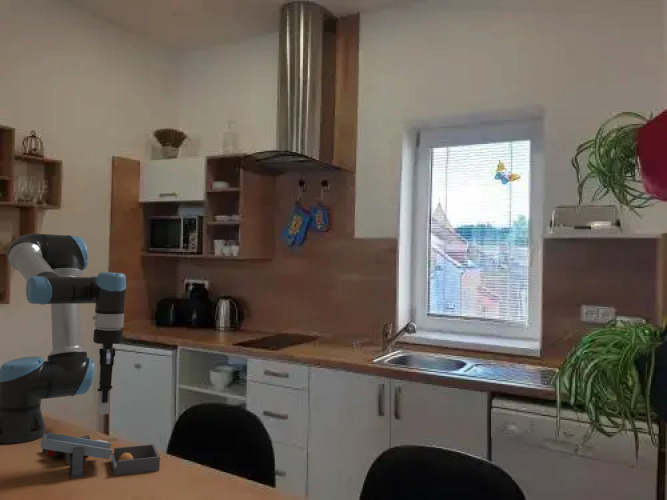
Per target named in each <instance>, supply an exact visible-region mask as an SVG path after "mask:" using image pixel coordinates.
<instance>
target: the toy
mask: <svg viewBox="0 0 667 500" xmlns="http://www.w3.org/2000/svg"><path fill="white" fill-rule="evenodd" d="M77 437H78V438H84V439H90V440H91V437H90V435H89V434H88V435H87V434H86V435H82V436H77ZM42 453H43V454H46V455H47V456H49V457H51V456H52V457H57V456H61V455H62V456H63V457H62V458H63V460H64V462H66V464H68V465H69V466H70V464H72V453H66V452H60V451H54V450H47V449H42ZM89 457H90V456H85V455H83V460H85V459H88V458H89Z"/></svg>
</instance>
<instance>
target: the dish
mask: <svg viewBox="0 0 667 500" xmlns="http://www.w3.org/2000/svg"><path fill="white" fill-rule="evenodd" d="M124 453H130V454H131V455H132V456H133V459H130V460H120V461H119V458H120V456H121V455H122V454H124ZM110 462H111V468H112V472H113V476H122V475H132V474H140V473H141V474H142V473H149V472H156V471H157V472H159V471H160V462H161V456H160V454H159V451H158V450H157V448H156V445H155V443H154V444H153V443H152V444H143V445H131V446H121V447H119V446H118V447H113V452H112V453H111V456H110Z"/></svg>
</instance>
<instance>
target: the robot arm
mask: <svg viewBox="0 0 667 500" xmlns="http://www.w3.org/2000/svg"><path fill="white" fill-rule="evenodd" d="M88 250H89V249H88V247H87V243H86V241H85V240H84V239H83V238H82V237H80V236H77V235H76V236H75V235H74V236H73V235H70V234H66V235H65V234H49V233H29V234H28V233H27V234H23V235H22V236H19V237H17V238H16V239H14V240H13V241H12V242H11V243H10V244H9V246H8V248H7V251H6V258H7V259H6V260H7V262H8V264H10V266H11V267H12V268H13V269H14V270H16V271H19V273H20V275H22V277H23V278H24V279H25V281H26V286H25V296H26V300H27V302H28V303H30V304H32V305H34V304H35V305H36V304H37V305H38V304H39V305H50V311H51V313H50V314H51V318H50V319H51V337H52V339H51V342H52V343H51V344H52V345H51V346H52V350H51V352H49V354H48V355H47V360H46V361H45V360H44V358H43V357H41V356H24V357H20V358H15V359H12V360H8V361H5V362H3V364H2V365H1V366H0V444H19V443H20V444H21V443H26V442H32V441H34V440H35V441H36V440H39V439H40V438H43V435H44V433H45V434H46V428H47V427H46V424H45V420H44V417H43V414H42V413H43V412H42V410H41V405H42V404H41V403H42V400H44V399H45V400H48V399H55V398H65V397H75V396H80V395H84V394H87V392H89V390H90V389H91V387H92V384H93V382H94V379H95V378H94V377H95V363H94V359H93V358H91V357H90V356H89V357H88V352H87V350H85V349H84V348H83V347H82V330H81V312H80V311H81V310H80V304H95V310H94V315H93V316H92V317H91V319H92V320H93V321H94V326H93V327H94V328H95V329H94V330H93V342H94V343H95V344H99V345H101V346H102V348H99V349H98V353H99V365H100V370H99V382H98V383H99V384H98V385H99V388H97V392H99V393H98V410H97V415H98V416H99V415H109V414H110V402H111V390H112V389H113V385H112V379H113V378H112V377H113V366H114V365H115V364H114V363H115V356H116V349H115V348H114V347H113V345H115V344H116V345H117V344H121V343H122V342H123V340H124V339H123V336H124V335H123V334H124V330H123V328H124V325H125V324H124V323H125V303H126V289H127V277H126V275H125V273H123V272H112V271H111V272H109V271H107V272H106V271H105V272H99V273H98V274H97V276H88V277H87V276H82V275H83V273H84V272H83V271H84V270H86V269H87V267H88V264H89V251H88Z"/></svg>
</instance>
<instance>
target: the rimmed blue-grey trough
mask: <svg viewBox="0 0 667 500" xmlns="http://www.w3.org/2000/svg"><path fill="white" fill-rule="evenodd" d="M78 437H79V436H72V435H67V434H66V435H65V434H60V433H54V432H47V433H46V432H45V433H44V435H43V436H42V437H41V438H42V439H41V440H40V441H41V442H40V449H41V450H43V449H47V450H54V451H60V452H66V453H73V448H83V447H84V451H83V455H85V456H89V457H93V458H100V459H106V460H111V454H112V453H113V449H112V448H111V446H112V442H109V441H107V440H102V439H96V440H95V439H91V438H90V439H84V438H78Z"/></svg>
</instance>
